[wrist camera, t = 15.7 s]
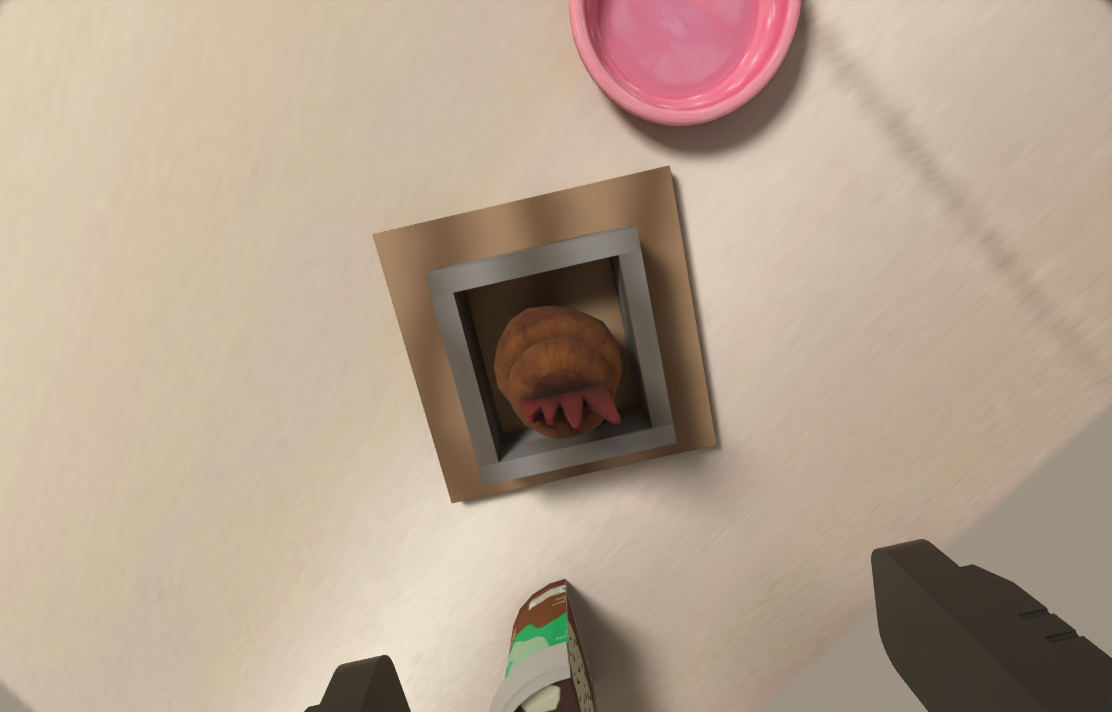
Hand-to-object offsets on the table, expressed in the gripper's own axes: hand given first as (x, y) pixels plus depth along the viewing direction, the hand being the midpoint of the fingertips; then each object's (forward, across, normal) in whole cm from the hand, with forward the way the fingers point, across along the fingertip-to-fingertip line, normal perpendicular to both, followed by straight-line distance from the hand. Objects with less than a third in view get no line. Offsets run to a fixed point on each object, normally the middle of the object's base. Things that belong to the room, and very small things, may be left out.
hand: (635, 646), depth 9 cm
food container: (+28, +7, +23) cm, 37 cm away
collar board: (+28, +1, +1) cm, 28 cm away
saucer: (+29, -10, -16) cm, 34 cm away
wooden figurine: (+27, +1, +1) cm, 27 cm away
